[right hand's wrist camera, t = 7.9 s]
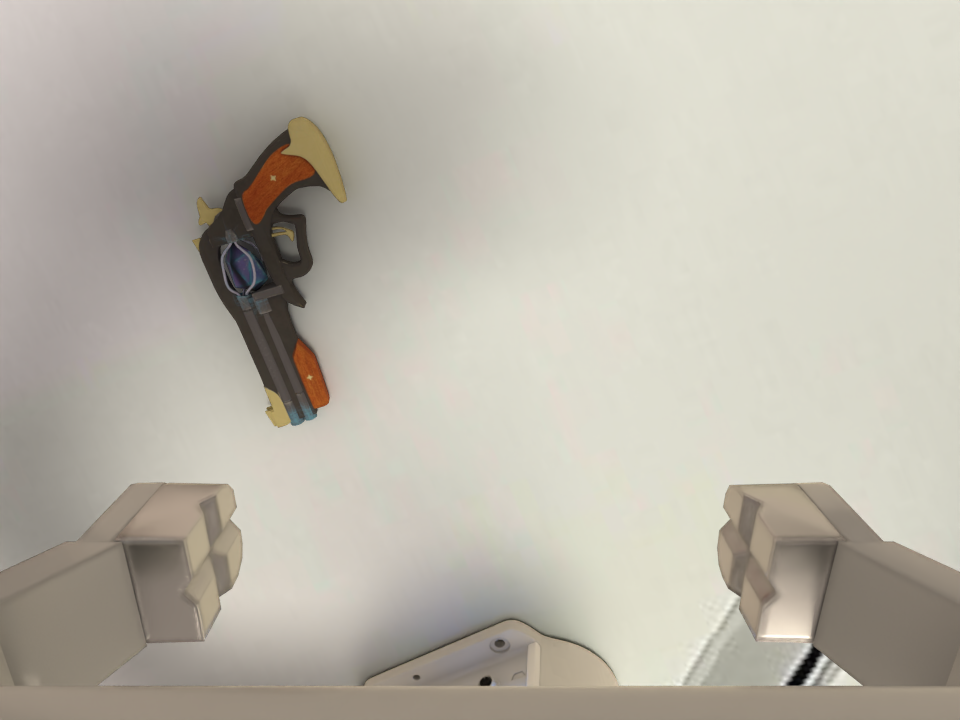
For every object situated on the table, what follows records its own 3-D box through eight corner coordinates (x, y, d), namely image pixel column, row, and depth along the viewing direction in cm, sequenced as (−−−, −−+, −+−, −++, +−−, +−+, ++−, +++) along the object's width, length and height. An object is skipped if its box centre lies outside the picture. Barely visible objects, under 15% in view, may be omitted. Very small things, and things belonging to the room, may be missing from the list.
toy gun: (316, 112, 36) (144, 159, 36) (411, 398, 44) (271, 438, 44) (320, 111, 38) (160, 154, 38) (410, 381, 46) (277, 419, 46)
